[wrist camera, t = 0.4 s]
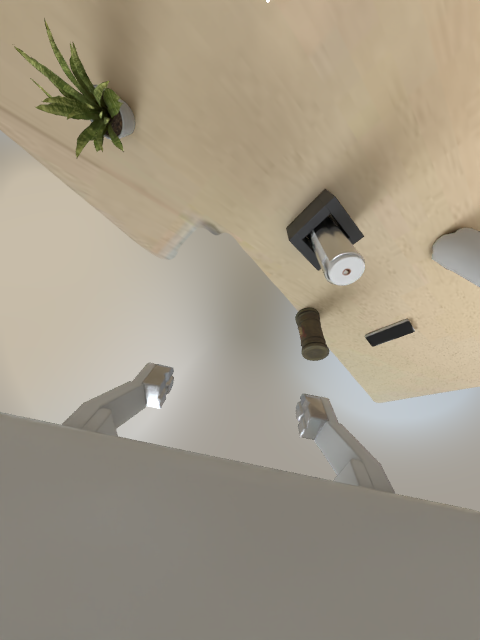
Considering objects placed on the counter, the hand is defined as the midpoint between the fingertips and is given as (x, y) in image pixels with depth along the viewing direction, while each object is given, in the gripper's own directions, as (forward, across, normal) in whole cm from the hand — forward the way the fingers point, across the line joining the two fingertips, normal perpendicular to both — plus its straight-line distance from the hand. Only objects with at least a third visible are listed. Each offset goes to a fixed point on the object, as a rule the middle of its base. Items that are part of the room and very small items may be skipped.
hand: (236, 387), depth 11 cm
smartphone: (+61, -58, +20) cm, 86 cm away
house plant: (+44, +33, -26) cm, 61 cm away
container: (+59, -24, +19) cm, 67 cm away
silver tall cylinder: (+50, -15, -12) cm, 53 cm away
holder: (+50, -15, -12) cm, 53 cm away
